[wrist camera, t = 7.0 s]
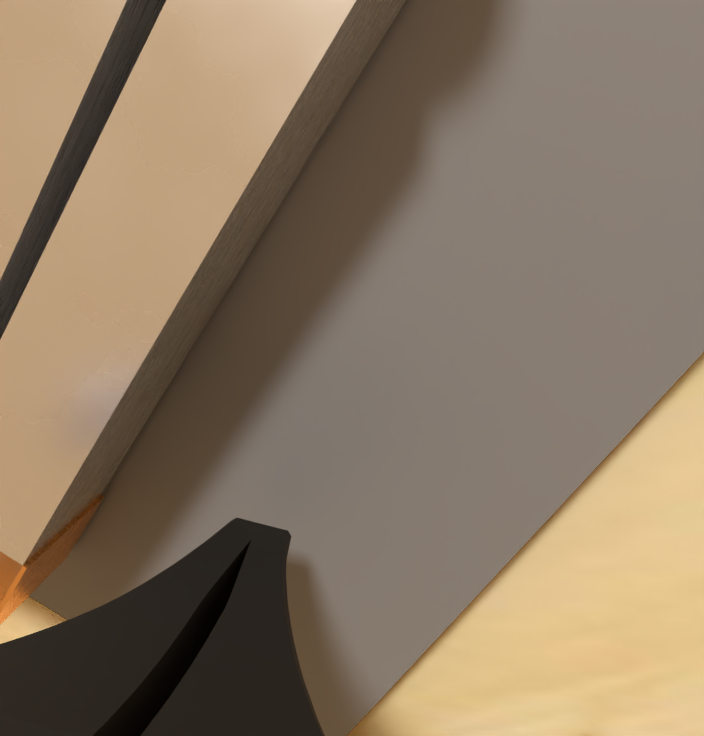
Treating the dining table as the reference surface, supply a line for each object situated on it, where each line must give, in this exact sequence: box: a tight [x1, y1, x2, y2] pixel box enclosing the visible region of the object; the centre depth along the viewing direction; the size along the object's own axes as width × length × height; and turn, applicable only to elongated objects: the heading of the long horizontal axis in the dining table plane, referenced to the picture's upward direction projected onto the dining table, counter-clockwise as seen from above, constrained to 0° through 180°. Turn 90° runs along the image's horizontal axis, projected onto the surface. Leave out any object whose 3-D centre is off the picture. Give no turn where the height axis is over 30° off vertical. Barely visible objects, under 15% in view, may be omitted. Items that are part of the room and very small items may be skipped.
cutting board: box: [29, 0, 704, 736], centre depth 13 cm, size 20×24×1 cm
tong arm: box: [0, 0, 406, 624], centre depth 11 cm, size 16×3×3 cm, turn 145°
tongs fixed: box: [0, 0, 166, 339], centre depth 10 cm, size 21×5×4 cm, turn 146°
